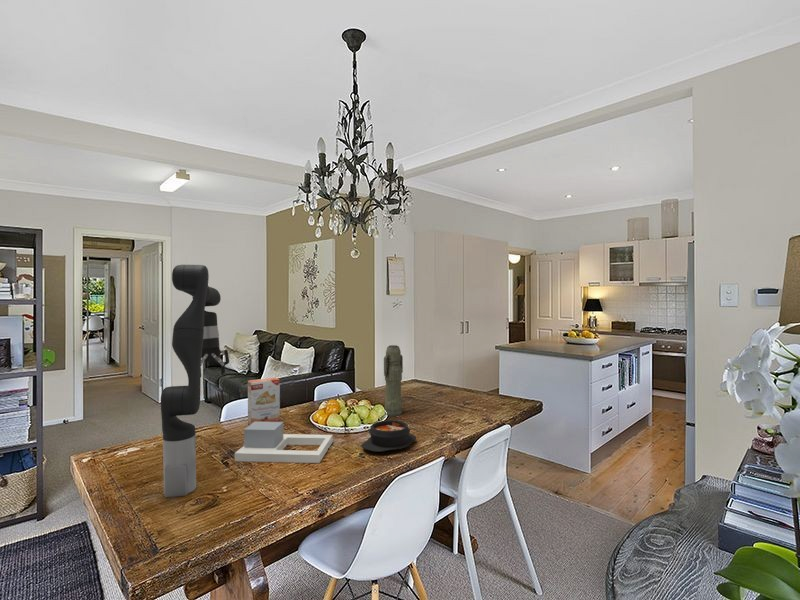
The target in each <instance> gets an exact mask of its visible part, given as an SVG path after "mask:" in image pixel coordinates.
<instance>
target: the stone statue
mask: <svg viewBox="0 0 800 600" xmlns="http://www.w3.org/2000/svg"><path fill="white" fill-rule="evenodd" d="M401 353H402V352H401V348H400V346H399V345H397V344H395V345H393V344H392V345H388V346H387V347H386V350H385V355H384V357H383V376H384V381H385V400H384V409H385V410H386V412H387V414H388V415H387V416H390V417H394V416H395V417H397V416H401V415H402V413H403V412H402V410H403V399H402V380H403V372H404V371H403V369H404V367H403V365H404V364H403V360H404V359H403V355H402V354H401Z"/></svg>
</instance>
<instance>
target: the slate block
mask: <svg viewBox="0 0 800 600" xmlns="http://www.w3.org/2000/svg"><path fill="white" fill-rule="evenodd" d="M283 434H284V421H278V422H253V423H252V424H251V425H250V424H248V426H247V427H245V428H244V429H243V438H244V439H243V446H244V447H248V448H275V447H276V446H277V445H278V444H279V443H280V442H281V441H282V440H283Z"/></svg>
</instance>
